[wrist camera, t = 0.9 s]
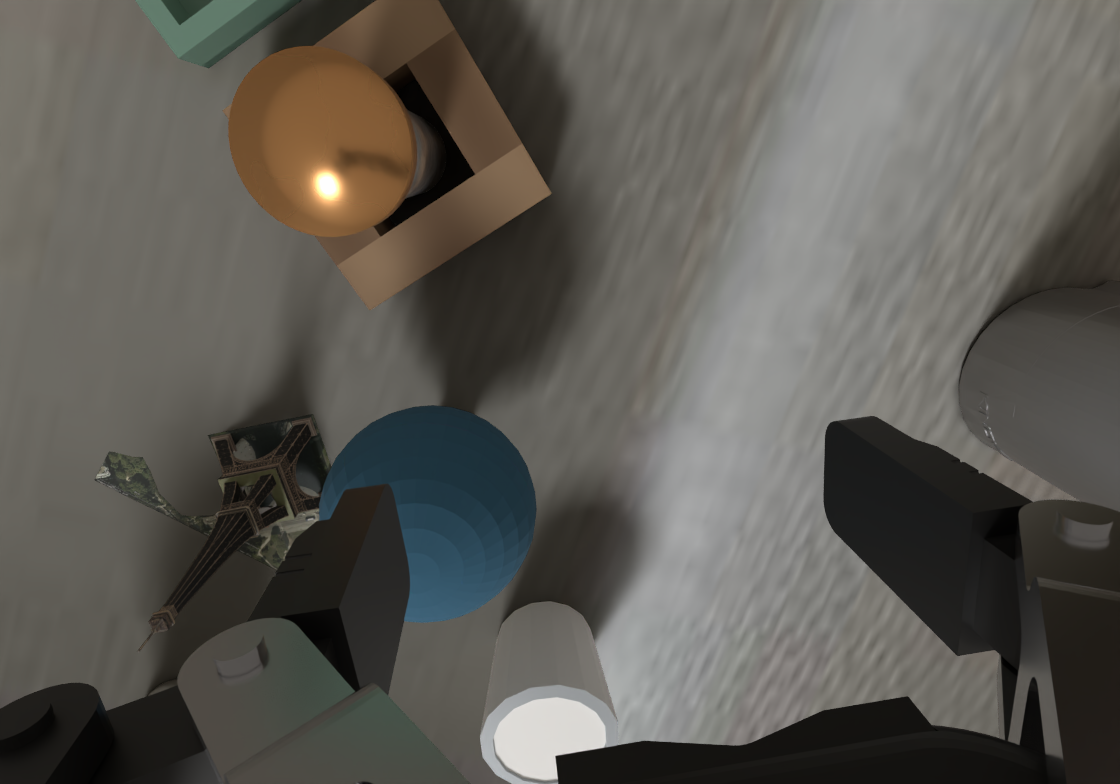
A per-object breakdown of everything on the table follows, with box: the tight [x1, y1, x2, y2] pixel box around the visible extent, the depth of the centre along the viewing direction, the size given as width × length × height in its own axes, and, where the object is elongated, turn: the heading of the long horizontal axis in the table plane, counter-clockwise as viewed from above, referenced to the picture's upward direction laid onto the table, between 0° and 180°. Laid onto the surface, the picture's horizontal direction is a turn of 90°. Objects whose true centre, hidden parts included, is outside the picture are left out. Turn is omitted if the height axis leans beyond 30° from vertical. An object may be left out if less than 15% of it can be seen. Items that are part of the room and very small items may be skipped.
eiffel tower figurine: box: [95, 414, 331, 653], centre depth 27 cm, size 15×10×13 cm
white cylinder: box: [480, 601, 619, 784], centre depth 34 cm, size 7×7×7 cm
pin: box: [229, 46, 447, 237], centre depth 22 cm, size 4×4×13 cm
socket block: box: [222, 0, 552, 310], centre depth 26 cm, size 9×9×4 cm
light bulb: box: [319, 405, 536, 622], centre depth 27 cm, size 8×8×12 cm
